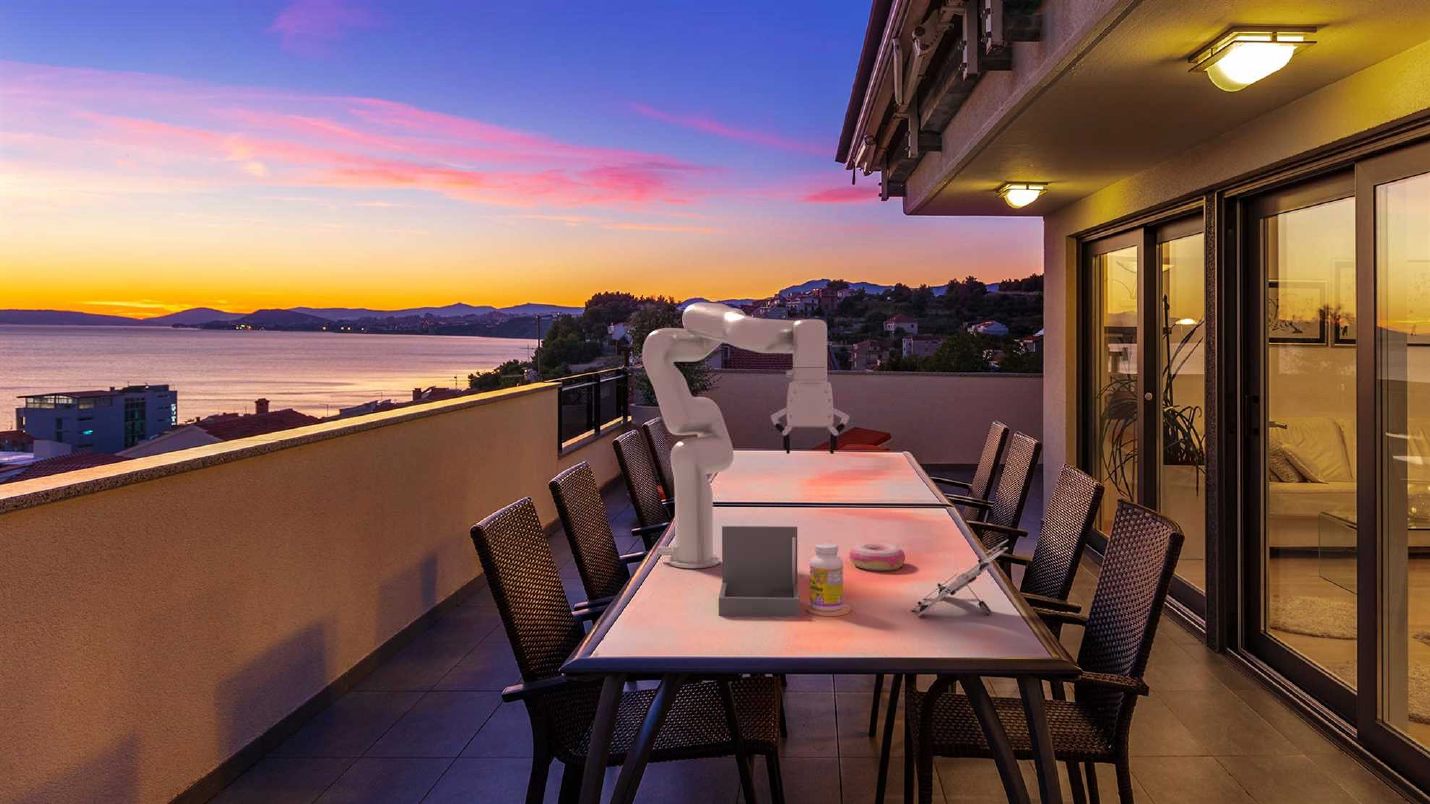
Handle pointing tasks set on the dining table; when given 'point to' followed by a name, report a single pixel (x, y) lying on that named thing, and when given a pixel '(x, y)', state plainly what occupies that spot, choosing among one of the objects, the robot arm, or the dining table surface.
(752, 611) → the case
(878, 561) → the donut
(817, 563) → the supplement bottle
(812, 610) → the pad
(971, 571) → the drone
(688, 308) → the robot arm
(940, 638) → the dining table surface
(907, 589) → the dining table surface
